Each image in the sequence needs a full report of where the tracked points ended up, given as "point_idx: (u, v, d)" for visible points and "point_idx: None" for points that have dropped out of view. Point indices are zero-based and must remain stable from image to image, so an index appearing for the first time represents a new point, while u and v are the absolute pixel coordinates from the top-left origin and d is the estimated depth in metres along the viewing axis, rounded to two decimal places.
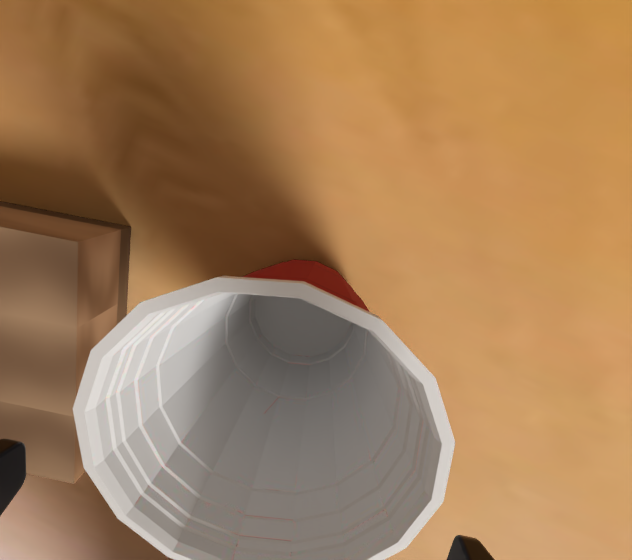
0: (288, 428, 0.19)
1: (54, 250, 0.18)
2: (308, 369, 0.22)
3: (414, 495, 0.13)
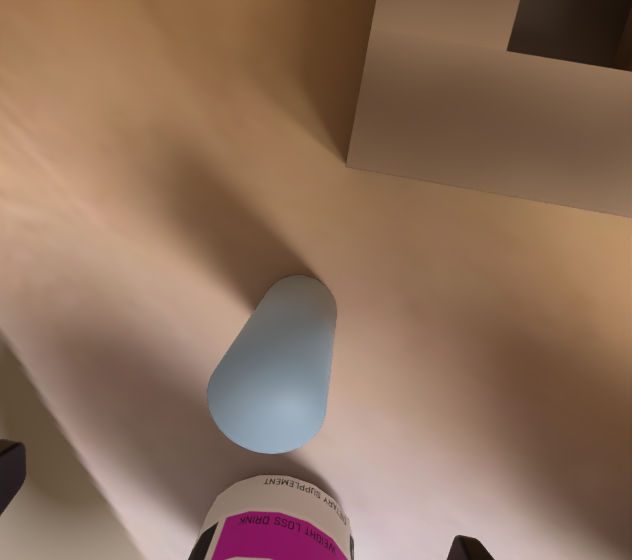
0: None
1: None
2: None
3: None
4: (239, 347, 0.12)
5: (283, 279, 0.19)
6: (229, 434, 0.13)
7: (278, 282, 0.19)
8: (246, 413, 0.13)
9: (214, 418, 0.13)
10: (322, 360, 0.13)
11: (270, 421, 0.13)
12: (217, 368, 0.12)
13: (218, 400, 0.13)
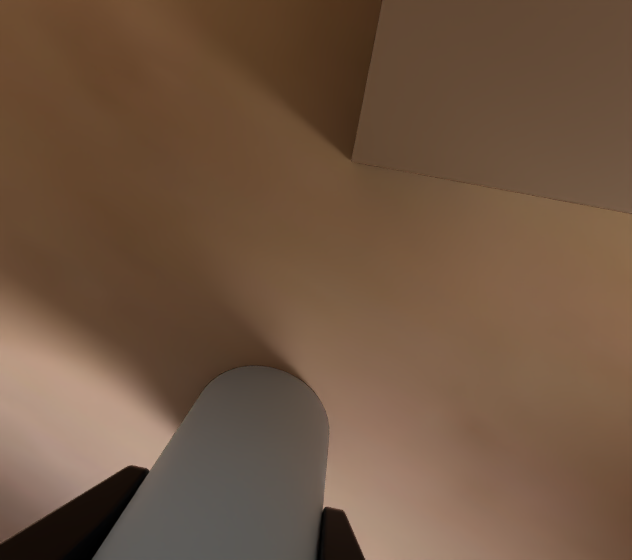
0: None
1: None
2: None
3: None
4: None
5: (227, 376, 0.10)
6: None
7: (217, 383, 0.10)
8: None
9: None
10: None
11: None
12: None
13: None
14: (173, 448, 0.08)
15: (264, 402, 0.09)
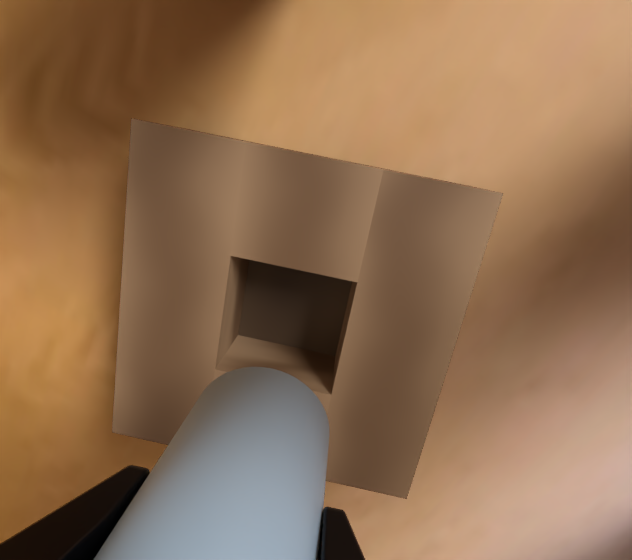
0: None
1: (145, 153, 0.15)
2: None
3: None
4: None
5: (228, 377, 0.10)
6: None
7: (218, 384, 0.10)
8: None
9: None
10: None
11: None
12: None
13: None
14: (174, 449, 0.08)
15: (264, 403, 0.09)
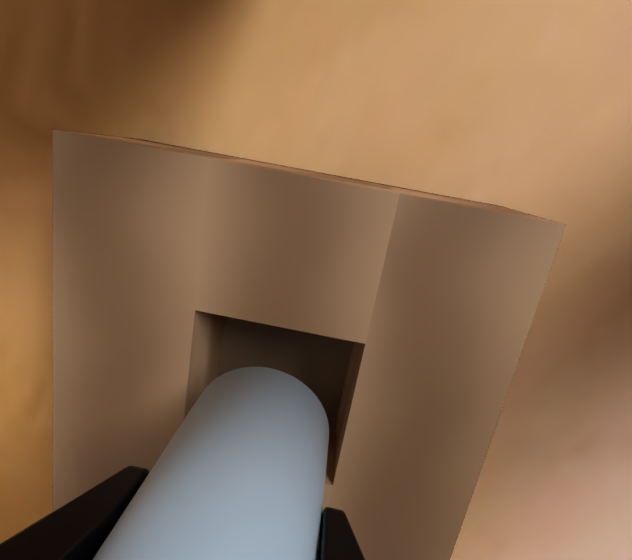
0: None
1: (74, 176, 0.11)
2: None
3: None
4: None
5: (227, 377, 0.10)
6: None
7: (217, 384, 0.10)
8: None
9: None
10: None
11: None
12: None
13: None
14: (173, 449, 0.08)
15: (264, 403, 0.09)
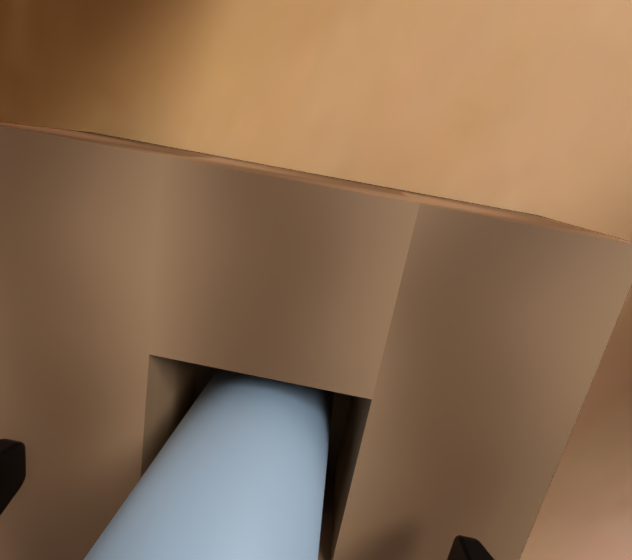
0: None
1: None
2: None
3: None
4: None
5: None
6: None
7: None
8: None
9: None
10: None
11: None
12: None
13: None
14: (207, 391, 0.10)
15: None
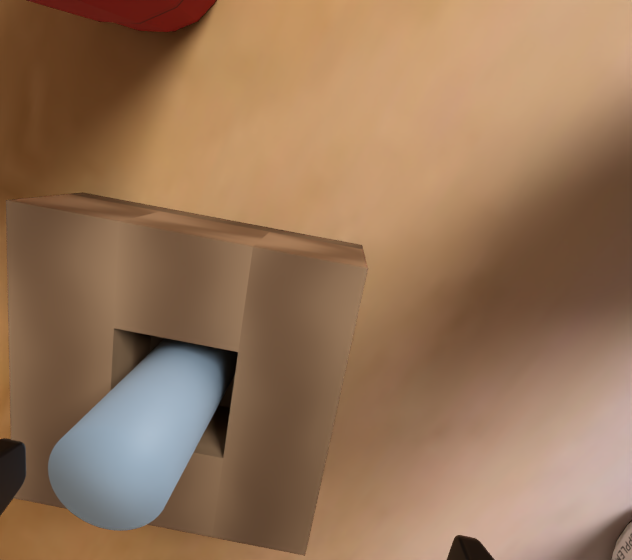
0: None
1: (22, 232, 0.15)
2: None
3: None
4: (78, 425, 0.12)
5: None
6: (75, 511, 0.13)
7: None
8: (89, 491, 0.12)
9: (58, 496, 0.12)
10: (175, 432, 0.13)
11: (115, 499, 0.12)
12: (55, 447, 0.12)
13: (60, 478, 0.12)
14: (149, 354, 0.17)
15: None
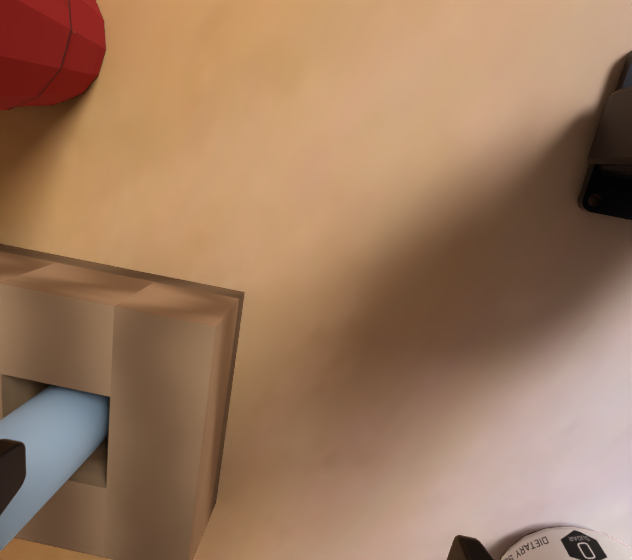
0: None
1: None
2: None
3: None
4: None
5: None
6: None
7: None
8: None
9: None
10: (27, 471, 0.15)
11: None
12: None
13: None
14: None
15: None
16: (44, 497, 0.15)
